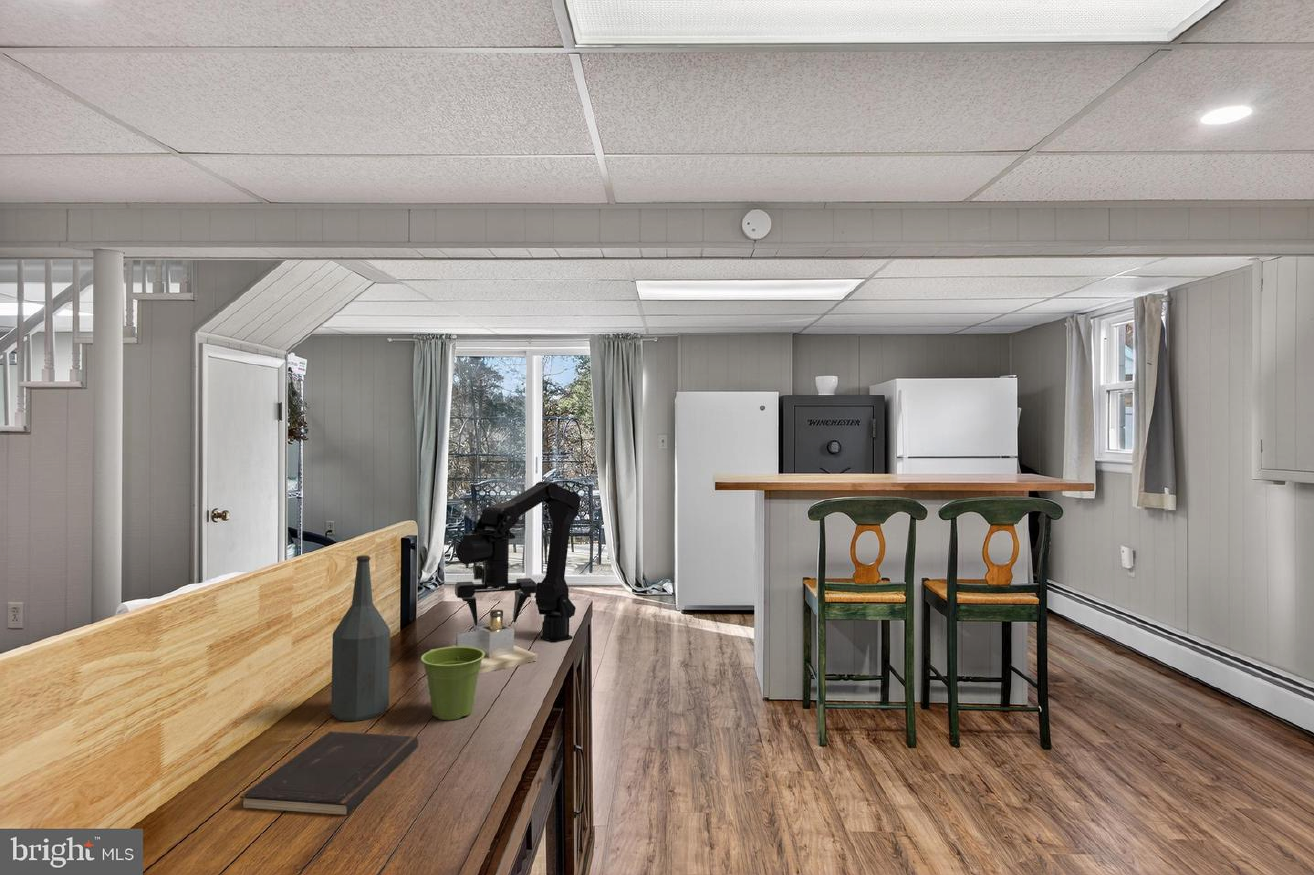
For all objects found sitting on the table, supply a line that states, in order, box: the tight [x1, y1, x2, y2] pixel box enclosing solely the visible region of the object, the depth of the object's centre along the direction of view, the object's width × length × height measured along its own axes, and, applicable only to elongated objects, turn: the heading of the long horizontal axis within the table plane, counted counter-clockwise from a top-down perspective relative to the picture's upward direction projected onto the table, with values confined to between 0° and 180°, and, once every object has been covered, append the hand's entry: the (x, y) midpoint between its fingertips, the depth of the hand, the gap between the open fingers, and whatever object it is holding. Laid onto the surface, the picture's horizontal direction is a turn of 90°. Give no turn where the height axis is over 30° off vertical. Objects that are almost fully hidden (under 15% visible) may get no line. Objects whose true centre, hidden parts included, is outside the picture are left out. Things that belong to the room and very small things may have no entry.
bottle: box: [330, 555, 391, 722], centre depth 138 cm, size 10×10×30 cm
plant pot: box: [420, 646, 485, 721], centre depth 138 cm, size 12×12×11 cm
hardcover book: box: [239, 731, 419, 816], centre depth 112 cm, size 16×23×2 cm
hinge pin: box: [489, 609, 504, 631], centre depth 173 cm, size 3×3×10 cm
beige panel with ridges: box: [428, 619, 538, 675], centre depth 173 cm, size 18×20×8 cm
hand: (495, 623), depth 173 cm, fingers open, 9 cm apart
